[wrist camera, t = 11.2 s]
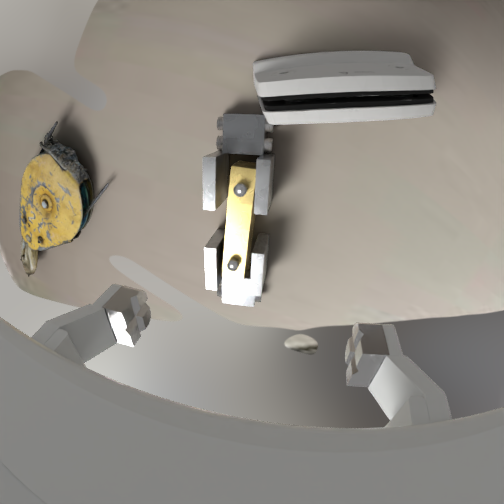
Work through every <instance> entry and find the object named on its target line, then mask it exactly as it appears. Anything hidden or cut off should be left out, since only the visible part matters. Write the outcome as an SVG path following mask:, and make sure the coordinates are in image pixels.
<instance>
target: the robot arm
mask: <svg viewBox="0 0 504 504" xmlns="http://www.w3.org/2000/svg"><path fill="white" fill-rule="evenodd" d="M147 299H148V298H147V295H146V292H145V291H143V290H139V289H135V288H131V287H127V286H122V285H119V284H112V285H111V286H110V287H109V288H108V289H107V290H106V291H105V292H104V293H103V294H102V295H101V296H100V297H99V298H98V299H97V300H96V301H95V302H94V304H93V305H91V304H89V305H86V306H83V307H81V308H78V309H76V310H74V311H71V312H68V313H66V314H63V315H61V316H58V317H56V318H53V319H51V320H48V321H46V323H45V324H44V325H43V326H42V327H41V328H40V329H39V330H38V331H37V332H36V333H35V334H34V335H33V336H32V337H29V336H27V335H26V334H24V333H23V332H21V331H20V330H18V329H17V328H15V327H14V326H12V325H11V324H9V323H8V322H6V321H5V320H4V319H2V318H1V317H0V504H504V407H502V408H499V409H495V410H492V411H488V412H484V413H480V414H476V415H472V416H468V417H463V418H458V419H453V420H452V417H451V413H450V409H449V405H448V401H447V398H446V394H445V392H444V391H443V390H442V389H441V388H440V387H439V386H438V385H437V384H435V383H434V382H433V381H432V380H431V379H430V378H429V377H428V376H427V375H426V374H425V373H424V372H423V371H422V370H421V369H420V368H419V367H418V366H417V365H416V364H415V363H413V362H412V361H411V360H410V359H409V358H408V357H407V356H403V353H402V350H401V346H400V343H399V339H398V336H397V333H396V329H395V326H394V325H393V324H370V323H355V324H354V326H353V329H352V334H353V336H352V337H351V338H349V340H348V343H347V347H346V351H345V362H346V364H347V365H348V369H347V371H346V378H347V386H358V387H368V389H369V390H370V392H371V393H372V395H373V396H374V398H375V399H376V401H377V402H378V403H379V405H380V406H381V408H382V409H383V411H384V412H385V414H386V415H387V416H388V418H389V419H390V422H389V423H388V424H387V425H386V426H385V427H384V428H325V427H307V426H297V425H287V424H279V423H271V422H264V421H258V420H252V419H246V418H240V417H235V416H230V415H225V414H220V413H216V412H212V411H208V410H204V409H199V408H196V407H192V406H188V405H185V404H180V403H177V402H174V401H170V400H168V399H164V398H161V397H158V396H155V395H152V394H149V393H146V392H143V391H141V390H138V389H135V388H133V387H130V386H127V385H125V384H122V383H120V382H117V381H115V380H112V379H110V378H108V377H105V376H103V375H101V374H99V373H96V372H94V371H92V370H90V369H88V368H87V367H86V366H85V364H84V363H85V362H87V361H88V360H90V359H92V358H93V357H95V356H96V355H98V354H100V353H101V352H103V351H104V350H106V349H108V348H109V347H111V346H113V345H114V344H116V343H117V342H119V343H122V344H125V345H128V346H132V347H134V345H135V343H136V342H137V341H138V340H139V338H140V337H141V335H140V331H143V330H145V329H146V327H147V326H148V325H149V322H150V318H151V311H150V307H149V306H148V305H147V304H146V301H147Z"/></svg>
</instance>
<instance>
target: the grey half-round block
mask: <svg viewBox="0 0 504 504" xmlns="http://www.w3.org/2000/svg"><path fill="white" fill-rule="evenodd" d="M253 76H254V85H255V88H256V91H257V94H258V96H257V97H258V100H259V103H260V106H261V109H262V112H263V114H264V116H265V118H266V120H267V122H268V123H269V124H272V125H280V124H312V123H339V122H361V121H381V120H395V119H408V118H418V117H426V116H432V115H433V114H434V110H435V106H436V102H435V101H434V100H433V96H431V95H430V94H431V93H433V90H435V89H436V85H435V80H434V76H433V74H431V73H429V72H427V71H425V70H423V69H421V68H419V67H417V66H415V65H414V63H413V61H412V59H411V57H410V55H409V54H406V53H403V52H389V51H333V52H319V53H308V54H298V55H290V56H283V57H277V58H270V59H265V60H259V61H254V62H253Z"/></svg>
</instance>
